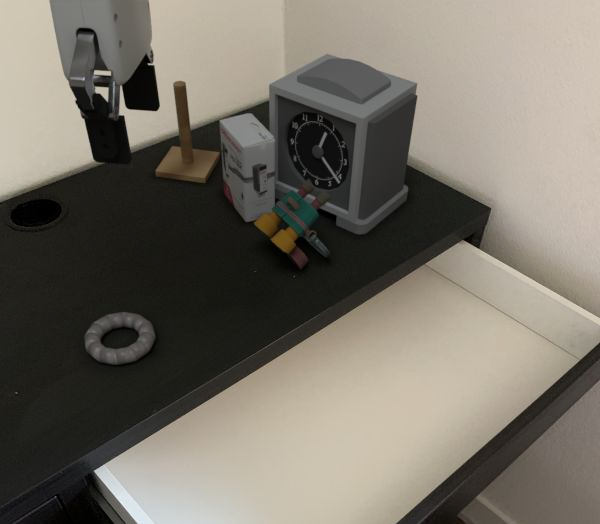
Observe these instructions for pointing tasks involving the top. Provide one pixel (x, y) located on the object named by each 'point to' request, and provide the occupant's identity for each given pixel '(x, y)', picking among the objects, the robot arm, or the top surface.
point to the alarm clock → (343, 138)
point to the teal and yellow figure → (294, 223)
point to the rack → (186, 148)
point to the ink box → (248, 165)
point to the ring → (122, 354)
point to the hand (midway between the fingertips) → (129, 134)
